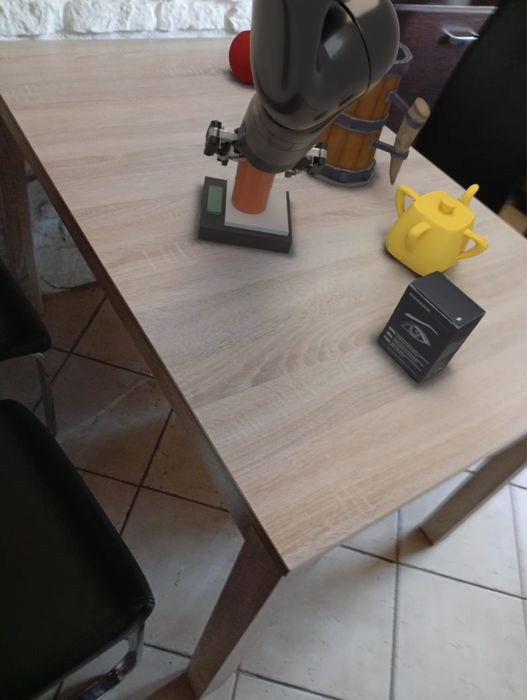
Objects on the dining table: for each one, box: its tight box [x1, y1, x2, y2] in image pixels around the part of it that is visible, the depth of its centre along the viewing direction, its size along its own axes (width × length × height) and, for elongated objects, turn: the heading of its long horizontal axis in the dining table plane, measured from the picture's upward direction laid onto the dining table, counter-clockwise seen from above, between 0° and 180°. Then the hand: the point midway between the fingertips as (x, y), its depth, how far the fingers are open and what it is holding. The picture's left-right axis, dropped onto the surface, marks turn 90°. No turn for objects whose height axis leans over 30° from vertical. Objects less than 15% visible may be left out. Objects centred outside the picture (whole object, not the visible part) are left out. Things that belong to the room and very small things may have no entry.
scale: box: [197, 175, 293, 254], centre depth 77 cm, size 13×12×3 cm
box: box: [377, 271, 487, 384], centre depth 64 cm, size 8×6×11 cm
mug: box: [306, 41, 431, 189], centre depth 85 cm, size 19×14×20 cm
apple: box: [228, 29, 254, 85], centre depth 103 cm, size 9×9×10 cm
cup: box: [231, 153, 276, 215], centre depth 72 cm, size 5×5×9 cm
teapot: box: [385, 183, 489, 277], centre depth 78 cm, size 14×13×10 cm
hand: (256, 164), depth 69 cm, fingers open, 8 cm apart
